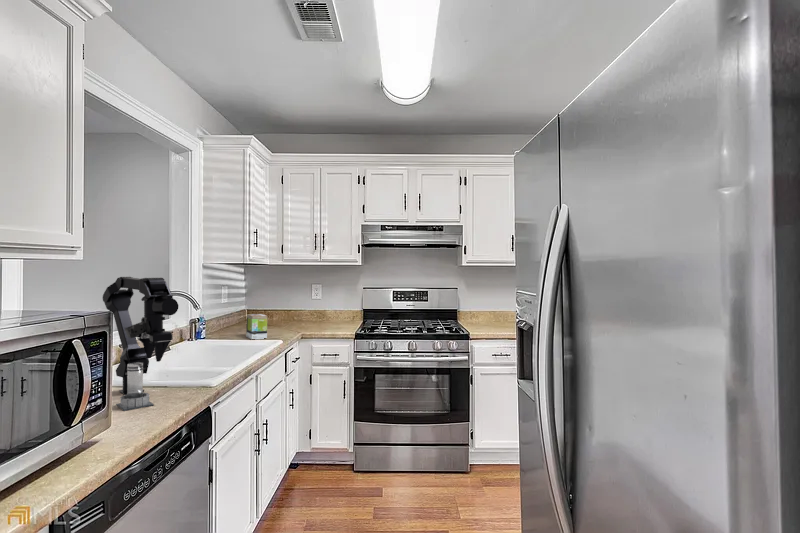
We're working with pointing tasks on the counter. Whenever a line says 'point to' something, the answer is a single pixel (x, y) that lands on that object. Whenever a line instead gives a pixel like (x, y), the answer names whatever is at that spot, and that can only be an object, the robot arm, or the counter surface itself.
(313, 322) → the counter surface
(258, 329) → the tea box
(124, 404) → the sleeve
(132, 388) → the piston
